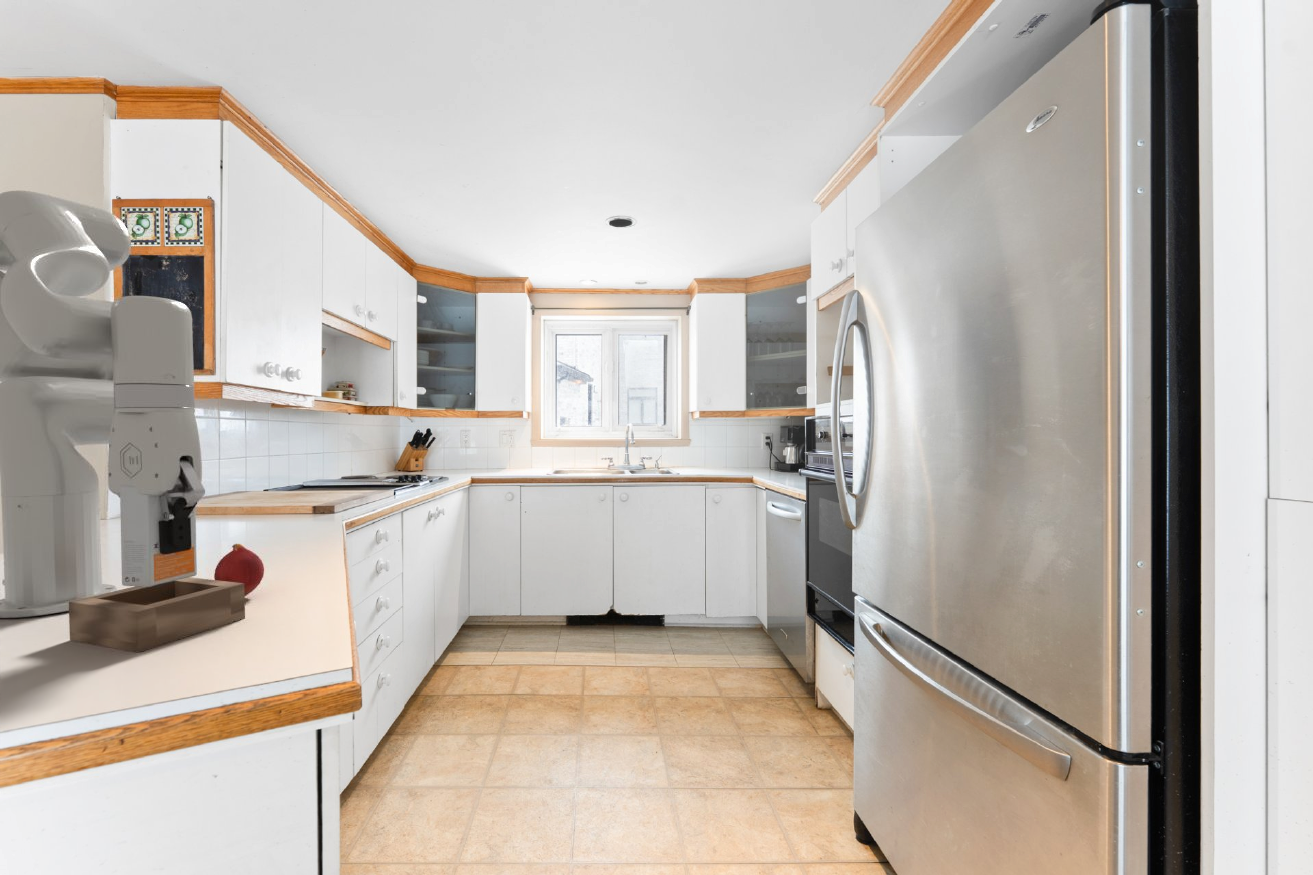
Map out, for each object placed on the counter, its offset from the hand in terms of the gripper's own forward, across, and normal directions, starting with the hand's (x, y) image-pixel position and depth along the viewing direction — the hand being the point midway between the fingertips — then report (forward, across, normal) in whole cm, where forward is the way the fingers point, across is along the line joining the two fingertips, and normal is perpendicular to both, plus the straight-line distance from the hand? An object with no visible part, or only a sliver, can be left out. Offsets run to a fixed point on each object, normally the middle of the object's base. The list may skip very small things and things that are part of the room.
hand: (160, 549), depth 73 cm
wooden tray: (+10, 0, 0) cm, 10 cm away
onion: (+10, -3, +12) cm, 16 cm away
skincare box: (+4, 0, 0) cm, 4 cm away
